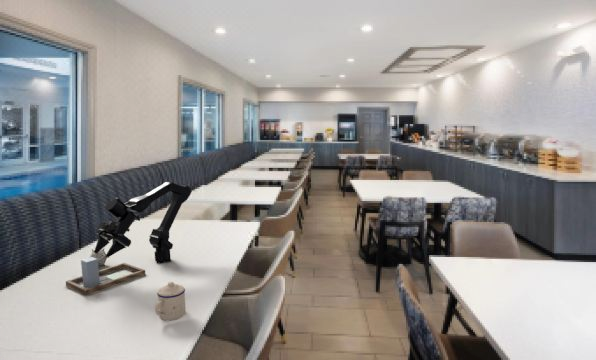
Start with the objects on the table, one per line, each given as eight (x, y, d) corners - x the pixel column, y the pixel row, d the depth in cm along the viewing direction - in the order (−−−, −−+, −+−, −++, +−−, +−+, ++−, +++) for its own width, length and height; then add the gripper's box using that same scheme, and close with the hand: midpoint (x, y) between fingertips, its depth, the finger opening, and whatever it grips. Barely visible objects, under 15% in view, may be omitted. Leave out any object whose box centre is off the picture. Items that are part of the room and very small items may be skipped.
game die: (101, 274, 182) (97, 262, 175) (85, 267, 183) (81, 255, 176) (114, 260, 188) (111, 248, 181) (99, 253, 190) (95, 240, 183)
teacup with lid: (171, 306, 141) (169, 275, 140) (191, 311, 138) (190, 279, 136) (146, 322, 131) (144, 288, 129) (167, 327, 127) (165, 293, 125)
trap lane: (124, 266, 181) (124, 262, 181) (145, 274, 172) (145, 270, 172) (66, 285, 161) (65, 281, 160) (86, 295, 151) (85, 290, 151)
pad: (118, 272, 174) (117, 272, 174) (127, 276, 170) (127, 275, 170) (104, 277, 169) (104, 276, 169) (113, 281, 165) (113, 280, 165)
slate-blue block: (94, 282, 164) (92, 256, 163) (99, 284, 162) (97, 259, 160) (83, 285, 161) (80, 260, 159) (88, 288, 158) (86, 262, 156)
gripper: (98, 210, 171) (74, 241, 163) (122, 216, 160) (97, 249, 153) (117, 224, 178) (94, 254, 171) (141, 230, 167) (118, 262, 160)
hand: (100, 254), depth 163 cm, fingers open, 9 cm apart
